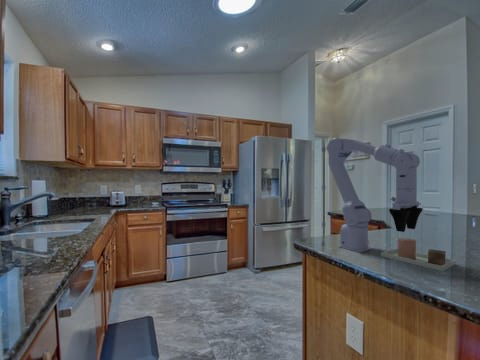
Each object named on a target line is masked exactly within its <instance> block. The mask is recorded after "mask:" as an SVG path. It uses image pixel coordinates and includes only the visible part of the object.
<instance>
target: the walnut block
mask: <svg viewBox="0 0 480 360" xmlns="http://www.w3.org/2000/svg"><path fill="white" fill-rule="evenodd" d="M427 255H428V263H431V264H435V265H439V266H442V265H444V264H445V258H446V251H445V250H440V249H432V248H431V249H430V248H429V249H428V251H427Z"/></svg>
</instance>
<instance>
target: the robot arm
mask: <svg viewBox="0 0 480 360" xmlns="http://www.w3.org/2000/svg"><path fill="white" fill-rule="evenodd" d="M325 149H326V151H327V154H328V157H327V158H328V159H327V160H328V166H329V169H330V171H331V173H332V176H333V178H334V181H335V184H336V186H337V189H338V190H339V193H340V195H341V199H342V201H343V203H344V204H343V206H342V208H341V209H342V214H343V221H344V222H345V223H344V224H342V225H341V228H340V230H339V234H340V237H339V238H340V239H339V241H340V242H339V244H340V245H338V247H339V248H341V249H342V248H343V249H346V250H351V251H355V252H358V253H363V252H367V251H371V249H372V247H371V246H369V223H370V221H371V220H372V217H373V216H372V213H371V211H370V209H368V208H367V206H366V205H365V203H364V202H363V201H361V200H360V199H359V196H358V194H357V192H356V189H355V187H354V185H353V182H352V180H351V178H350V175H349V174H348V171H347V168H346V166H345V162H346V160H347V159H348V158H349V157H350V155H352V153H353V152H357V151H358V152H361V153H364V154H368V155H370V156H373V157H374V160H375V161H377V162H380V163H383V164H386V165H389V166H391V167H394V168H395V170H396V172H395V177H396V178H395V188H396V189H395V195H396V196H395V202H393V203H392V205H391V206H392V208H388V211H389V214H390V215H391V217H392V219H393V223H394V226H395V229H396V232H401V233H404V232H405V231H406V228H407V229H411V230H415V229H416V226H417V223H418V220H419V217H420V215H421V213H422V212H423V210H424V209H423V207H419V206H421V205H422V203H421V202H420V201H418V200H417V197H418V195H417V194H418V193H417V191H418V190H417V188H418V187H417V184H418V182H417V181H418V177H417V176H418V173H417V171H418V170H417V169H418V167H419V165H420V164H421V163H420V162H421V161H420V157H419V155H417V154H415V153H413V152H405V149H403V148H400V149H398V148H394V147H392V146H391V145H390V144H385V145H384V144H382V145H379V146H374V145H372V144H370V143H365V142H363V141H360V140H355V139H350V138H340V137H332V138H331V139H330V140H329V141H328V143H327V146H326V148H325Z"/></svg>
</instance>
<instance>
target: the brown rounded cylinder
mask: <svg viewBox="0 0 480 360" xmlns="http://www.w3.org/2000/svg"><path fill="white" fill-rule="evenodd" d="M397 248H398V256H400V257H404V258H409V259H413V260H416V252H417V241H416V240H415V239H414V238H410V237H409V238H408V237H407V238H406V237H398V238H397Z"/></svg>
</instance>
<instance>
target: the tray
mask: <svg viewBox="0 0 480 360" xmlns="http://www.w3.org/2000/svg"><path fill="white" fill-rule="evenodd" d="M380 257H381V258H386V259H391V260H394V261H398V262H403V263H407V264H411V265H416V266H419V267H424V268H428V269H432V270H437V271H441V272H445V271H447V270H448V269H449V268H452V267H454V266H455V265H456V260H455V259H451V258H447V257H445V264H444V265H442V266H439V265H435V264H431V263H428V253H427V254H426V253H421V252H417V251H416V260H413V259H409V258H404V257H400V256H398V247H396V248H395V247H394V248H391V249H389V250H385V251H382V252H380Z"/></svg>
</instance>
